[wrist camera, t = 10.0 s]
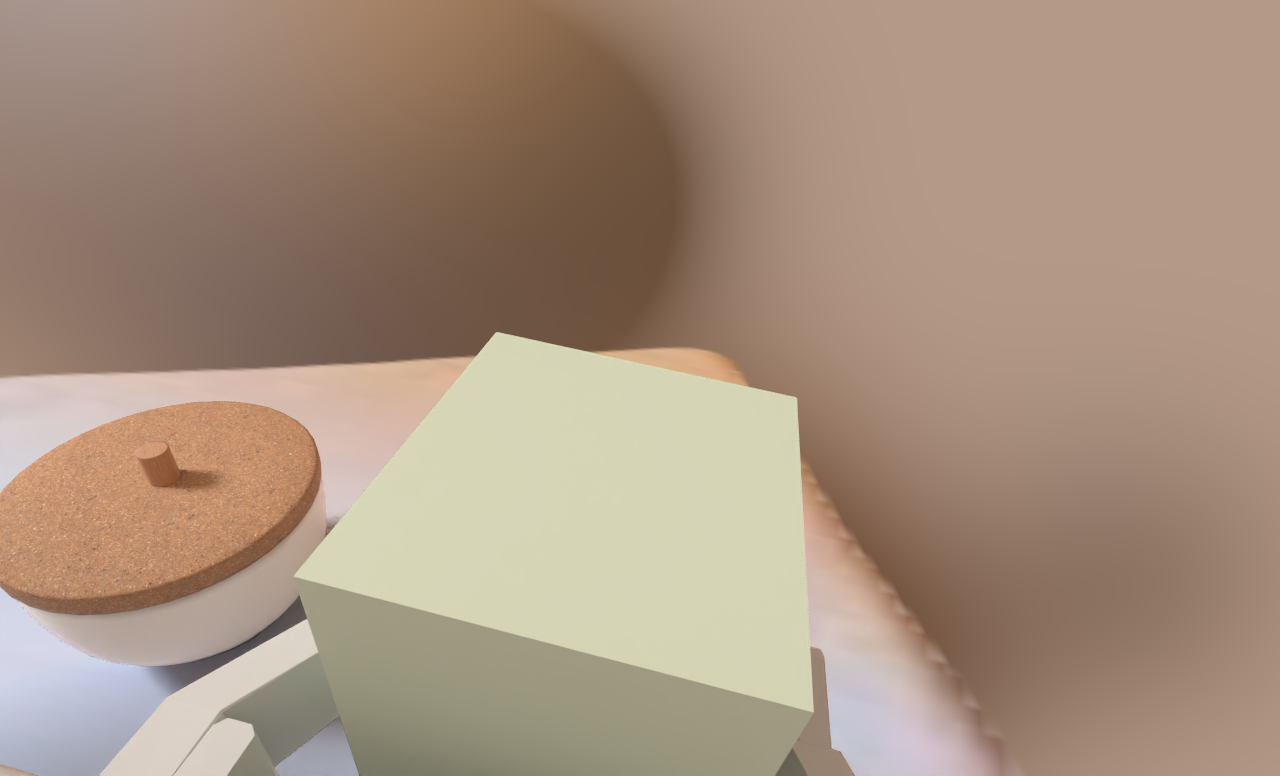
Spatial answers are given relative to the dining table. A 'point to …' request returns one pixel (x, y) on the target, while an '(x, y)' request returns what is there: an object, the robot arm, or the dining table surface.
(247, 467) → the lidded jar
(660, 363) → the dining table surface
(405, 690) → the sage brick
